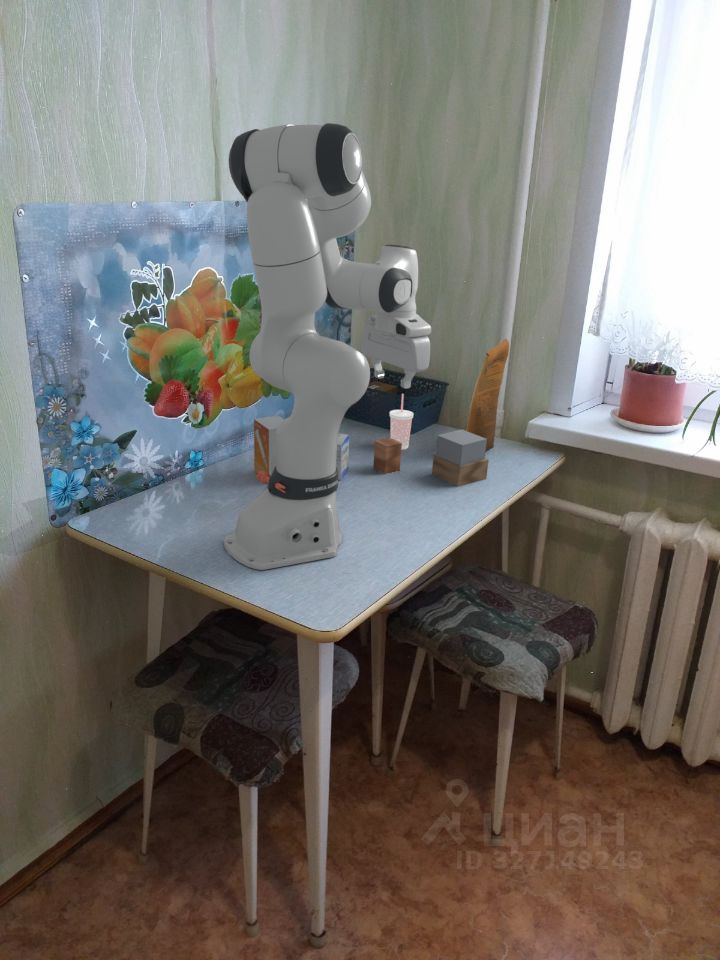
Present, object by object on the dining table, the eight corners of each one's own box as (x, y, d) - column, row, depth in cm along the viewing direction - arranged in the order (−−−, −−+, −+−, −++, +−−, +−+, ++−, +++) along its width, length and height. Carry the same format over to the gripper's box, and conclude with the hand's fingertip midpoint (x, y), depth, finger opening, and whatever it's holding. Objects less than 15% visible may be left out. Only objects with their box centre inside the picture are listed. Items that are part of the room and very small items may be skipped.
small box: (253, 472, 175) (253, 418, 170) (278, 468, 178) (278, 415, 173) (268, 484, 168) (268, 428, 164) (294, 480, 172) (294, 425, 167)
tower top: (460, 466, 171) (462, 445, 169) (435, 455, 177) (437, 435, 175) (484, 459, 176) (486, 438, 174) (459, 449, 181) (461, 429, 179)
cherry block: (385, 474, 177) (386, 446, 175) (373, 468, 180) (374, 440, 178) (399, 470, 180) (401, 442, 177) (388, 464, 183) (389, 437, 180)
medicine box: (341, 481, 172) (342, 445, 169) (321, 478, 173) (322, 443, 170) (348, 469, 179) (349, 434, 176) (330, 466, 180) (331, 432, 177)
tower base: (458, 487, 172) (460, 466, 170) (431, 474, 179) (433, 454, 177) (486, 479, 177) (488, 459, 176) (459, 467, 184) (461, 448, 182)
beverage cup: (385, 442, 198) (388, 390, 192) (408, 442, 199) (411, 390, 194) (390, 450, 192) (393, 397, 187) (413, 450, 193) (417, 397, 188)
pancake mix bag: (506, 444, 201) (519, 338, 190) (475, 464, 186) (487, 351, 175) (483, 438, 204) (494, 334, 194) (451, 458, 189) (461, 346, 179)
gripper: (355, 314, 173) (353, 373, 178) (414, 331, 158) (410, 395, 163) (377, 312, 176) (374, 370, 182) (436, 328, 161) (432, 391, 167)
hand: (392, 382), depth 172 cm, fingers open, 8 cm apart
